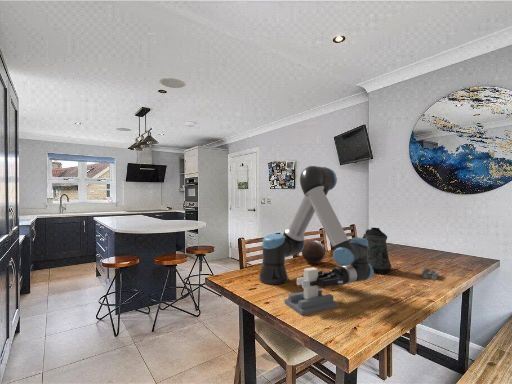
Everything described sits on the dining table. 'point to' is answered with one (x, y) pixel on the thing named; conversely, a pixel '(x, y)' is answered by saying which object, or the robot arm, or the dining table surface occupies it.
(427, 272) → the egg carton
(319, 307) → the rack
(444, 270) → the dining table surface
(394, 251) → the dining table surface
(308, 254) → the wooden sphere
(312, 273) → the white rectangular block
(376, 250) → the black irregular block
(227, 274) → the dining table surface
